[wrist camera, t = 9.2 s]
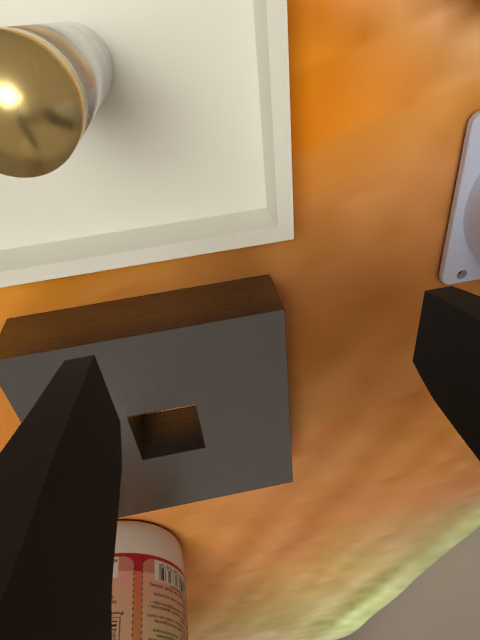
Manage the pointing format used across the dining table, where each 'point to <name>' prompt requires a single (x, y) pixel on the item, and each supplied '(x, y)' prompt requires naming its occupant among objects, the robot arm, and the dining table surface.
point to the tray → (161, 141)
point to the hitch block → (174, 385)
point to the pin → (48, 93)
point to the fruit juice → (148, 584)
